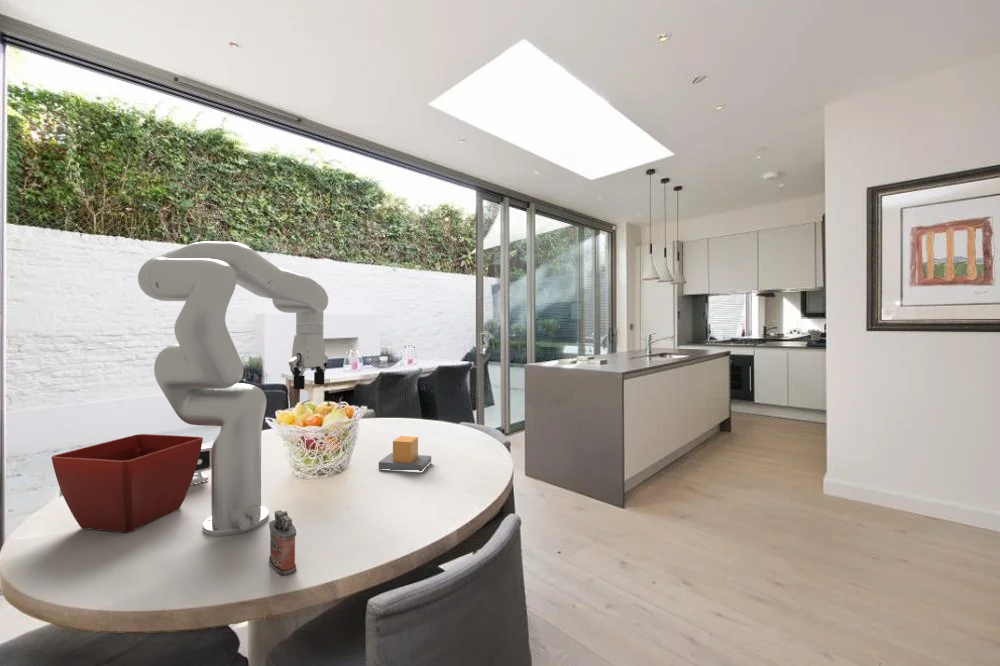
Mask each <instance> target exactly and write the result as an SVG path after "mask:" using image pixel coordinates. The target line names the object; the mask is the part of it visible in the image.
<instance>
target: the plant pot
mask: <svg viewBox="0 0 1000 666" xmlns="http://www.w3.org/2000/svg"><path fill="white" fill-rule="evenodd" d="M203 441H204V438H203V437H202V436H189V435H188V436H187V435H172V434H171V435H170V434H148V433H147V434H145V433H139V434H134V435H129V436H125V437H123V438H122V437H121V438H117V439H114V440H110V441H106V442H101V443H98V444H94V445H90V446H86V447H85V446H84V447H82V448H78V449H74V450H70V451H69V450H68V451H67V452H66V451H65V452H62V453H58V454H54V455H52V456H51V462H52V466H53V469H54V473H55V477H56V481H57V483H58V486H59V490H60V492H61V494H62V496H63V499H64V501H65V504H66V505H67V507H68V509H69V511H70V513H71V515H72V516H73V518H74V520H75V521H76V522H77V524H78V526H79V527H80V528H81V529H86V530H96V531H97V530H98V531H107V532H116V533H117V532H118V533H129V532H133V531H136V530H138V529H140V528H142V527H144V526H146V525H148V524H151V523H152V522H154V521H157V520H158V519H161V518H163V517H164V516H167V515H169V514H172V513H174V512H176V511H177V510H180V509H181V506H183V503H184V501H185V498H186V496H187V494H188V491H189V489H190V487H191V486H190V484H191V481H192V479H193V476H194V474H196V473H195V470H196V466H197V463H198V459H199V456H200V452H201V447H202V444H203Z"/></svg>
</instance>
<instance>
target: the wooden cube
mask: <svg viewBox="0 0 1000 666" xmlns="http://www.w3.org/2000/svg"><path fill="white" fill-rule="evenodd" d="M392 453H393V461H394V462H408V463H411V462H412V461H413V460H415V459H416V458H417V457H418V455H419V437H418V436H408V435H407V436H405V435H400V436H398V437H397V438H395V439H393V440H392Z"/></svg>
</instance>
